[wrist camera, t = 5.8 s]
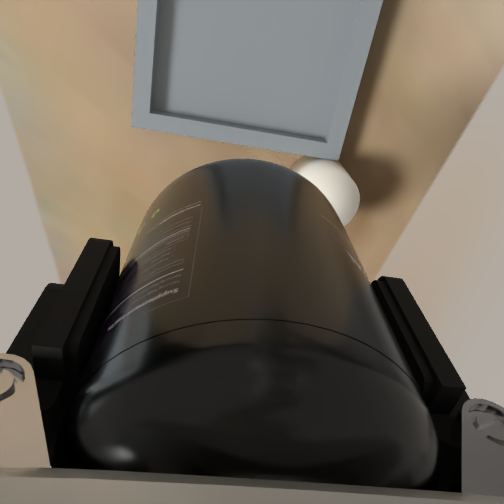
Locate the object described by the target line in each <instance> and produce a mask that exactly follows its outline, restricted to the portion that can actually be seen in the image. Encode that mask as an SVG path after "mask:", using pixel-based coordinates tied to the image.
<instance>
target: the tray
mask: <svg viewBox="0 0 504 504" xmlns="http://www.w3.org/2000/svg"><path fill="white" fill-rule="evenodd" d="M382 3H383V0H138V6H137V26H136V46H135V66H134V86H133V106H132V126H131V127H134V128H141V129H147V130H153V131H159V132H165V133H171V134H177V135H183V136H189V137H195V138H201V139H207V140H213V141H220V142H226V143H232V144H238V145H244V146H250V147H256V148H262V149H268V150H274V151H280V152H286V153H292V154H299V155H305V156H311V157H317V158H323V159H329V160H335V161H338V160H339V157H340V153H341V149H342V146H343V142H344V139H345V135H346V132H347V128H348V124H349V121H350V117H351V114H352V110H353V107H354V103H355V100H356V96H357V92H358V89H359V85H360V82H361V78H362V75H363V71H364V67H365V64H366V60H367V57H368V53H369V50H370V46H371V43H372V39H373V35H374V32H375V28H376V25H377V21H378V18H379V14H380V10H381V7H382Z"/></svg>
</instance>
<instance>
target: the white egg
mask: <svg viewBox="0 0 504 504" xmlns="http://www.w3.org/2000/svg"><path fill="white" fill-rule="evenodd" d="M290 170H293V171H295V172H296V173H298V174H300V175H302V176H303V177H305V178H306V179H307V180H309V181H310V182H311V183H313V184H314V185H315V186H316V187H317V188H318V189H319V190H320V191H321V192H322V193H323V194H324V195H325V196H326V198H327V199H328V200H329V202H330V203H331V204H332V206H333V208H334V209H335V211H336V213H337V214H338V216H339V218H340V220H341V222H342V224H343V226H345V225H346V224H347V223H348V222H350V221H351V219H352V218H353V217H354V216H355V214H356V212H357V210H358V207H359V203H360V194H359V190H358V187H357V185H356V184H355V182H354V181H353V180H352V178H351V177H350V176H349V174H348V173H347V172H346V170H345V169H344V168H343V166H342V165H341V164H340V162H339V161H335V160H329V159H323V158H317V157H311V156H305V155H304V156H302V157H300V158H299V159H298V160H297V161H296V162H295V163H294V164H293V165H292V167H291V168H290Z"/></svg>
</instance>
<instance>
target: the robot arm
mask: <svg viewBox="0 0 504 504" xmlns="http://www.w3.org/2000/svg"><path fill="white" fill-rule="evenodd" d="M119 274H120V247H115V246H113V241H111V240H104V239H96V238H90V239H89V240H88V242H87V244H86V246H85V247H84V249H83V251H82V253H81V255H80V257H79V259H78V260H77V262H76V264H75V266H74V268H73V270H72V271H71V273H70V275H69V277H68V279H67V281H66V283H65V284H56V283H50V284H48V285H47V286H46V287H45V289H44V291H43V292H42V294H41V296H40V297H39V299H38V301H37V302H36V304H35V306H34V307H33V309H32V311H31V312H30V314H29V316H28V317H27V319H26V321H25V322H24V324H23V326H22V327H21V329H20V331H19V332H18V334H17V336H16V337H15V339H14V341H13V343H12V344H11V346H10V348H9V349H8V351H7V352H6V354H3V353H2V354H0V504H504V408H503V407H501V406H499V405H497V404H496V403H493V402H491V401H488V400H484V399H476V398H474V399H470V398H469V396H468V395H467V393H466V391H465V389H466V387H465V385H464V383H463V382H462V380H461V378H460V377H459V375H458V373H457V372H456V370H455V368H454V366H453V364H452V363H451V361H450V359H449V358H448V356H447V354H446V353H445V351H444V349H443V347H442V346H441V344H440V343H439V341H438V339H437V337H436V335H435V334H434V332H433V330H432V329H431V327H430V325H429V324H428V322H427V320H426V319H425V317H424V315H423V313H422V311H421V310H420V308H419V306H418V305H417V303H416V301H415V300H414V298H413V296H412V295H411V293H410V291H409V289H408V288H407V286H406V284H405V282H404V281H403V280H402V279H400V278H393V277H385V276H381V277H380V278H379V279H378V281H377V280H374V281H373V282H372V283H371V286H372V288H373V290H374V292H375V294H376V296H377V298H378V301H379V303H380V305H381V307H382V309H383V311H384V313H385V316H386V318H387V320H388V322H389V324H390V326H391V328H392V330H393V333H394V335H395V337H396V339H397V341H398V343H399V345H400V348H401V350H402V352H403V354H404V356H405V358H406V360H407V363H408V365H409V367H410V369H411V371H412V373H413V375H414V378H415V380H416V382H417V384H418V386H419V388H420V391H421V393H422V395H423V397H424V400H425V402H426V404H427V406H428V410H429V412H430V414H431V417H432V419H433V422H434V424H435V427H436V430H437V434H438V438H439V443H440V449H441V477H440V487H439V491H429V490H415V489H400V488H386V487H371V486H357V485H342V484H326V483H311V482H296V481H280V480H264V479H248V478H232V477H215V476H198V475H181V474H164V473H147V472H129V471H111V470H88V469H64V468H50V466H51V464H52V456H53V450H54V445H55V442H56V439H57V435H58V432H59V430H60V427H61V424H62V420H63V418H64V415H65V412H66V409H67V406H68V404H69V401H70V399H71V396H72V394H73V391H74V389H75V386H76V384H77V381H78V379H79V376H80V374H81V371H82V369H83V366H84V364H85V361H86V359H87V356H88V354H89V351H90V349H91V346H92V344H93V341H94V339H95V336H96V334H97V331H98V329H99V326H100V324H101V321H102V319H103V316H104V314H105V311H106V309H107V306H108V304H109V301H110V299H111V296H112V294H113V291H114V289H115V287H116V284H117V282H118V279H119Z"/></svg>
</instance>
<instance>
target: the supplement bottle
mask: <svg viewBox="0 0 504 504" xmlns="http://www.w3.org/2000/svg"><path fill="white" fill-rule="evenodd" d="M51 468H64V469H88V470H111V471H129V472H147V473H164V474H181V475H198V476H215V477H232V478H248V479H264V480H280V481H296V482H311V483H326V484H342V485H357V486H371V487H386V488H400V489H415V490H429V491H439V487H440V477H441V449H440V443H439V438H438V434H437V430H436V427H435V424H434V422H433V419H432V417H431V414H430V412H429V410H428V406H427V404H426V402H425V400H424V397H423V395H422V393H421V391H420V388H419V386H418V384H417V382H416V380H415V378H414V375H413V373H412V371H411V369H410V367H409V365H408V363H407V360H406V358H405V356H404V354H403V352H402V350H401V348H400V345H399V343H398V341H397V339H396V337H395V335H394V333H393V330H392V328H391V326H390V324H389V322H388V320H387V318H386V316H385V313H384V311H383V309H382V307H381V305H380V303H379V301H378V298H377V296H376V294H375V292H374V290H373V288H372V286H371V284H370V281H369V279H368V277H367V275H366V273H365V271H364V269H363V266H362V264H361V262H360V260H359V258H358V256H357V254H356V252H355V249H354V247H353V245H352V243H351V241H350V239H349V237H348V234H347V232H346V230H345V228H344V226H343V224H342V222H341V220H340V218H339V216H338V214H337V213H336V211H335V209H334V208H333V206H332V204H331V203H330V202H329V200H328V199H327V198H326V196H325V195H324V194H323V193H322V192H321V191H320V190H319V189H318V188H317V187H316V186H315V185H314V184H313V183H311V182H310V181H309V180H307V179H306V178H305V177H303V176H302V175H300V174H298V173H296V172H295V171H293V170H290V169H288V168H286V167H283V166H281V165H278V164H274V163H271V162H267V161H262V160H255V159H229V160H222V161H216V162H213V163H209V164H206V165H203V166H200V167H198V168H195V169H193V170H191V171H189V172H187V173H185V174H184V175H182V176H180V177H179V178H177V179H176V180H175V181H173V182H172V183H171V184H170V185H168V186H167V187H166V188H165V189H164V190H163V191H162V192H161V193H160V194H159V195H158V197H157V198H156V199H155V200H154V202H153V203H152V205H151V206H150V208H149V210H148V211H147V213H146V215H145V217H144V219H143V221H142V223H141V225H140V228H139V230H138V232H137V234H136V237H135V239H134V242H133V244H132V247H131V249H130V252H129V254H128V257H127V259H126V262H125V264H124V267H123V269H122V272H121V274H120V277H119V279H118V282H117V284H116V287H115V289H114V291H113V294H112V296H111V299H110V301H109V304H108V306H107V309H106V311H105V314H104V316H103V319H102V321H101V324H100V326H99V329H98V331H97V334H96V336H95V339H94V341H93V344H92V346H91V349H90V351H89V354H88V356H87V359H86V361H85V364H84V366H83V369H82V371H81V374H80V376H79V379H78V381H77V384H76V386H75V389H74V391H73V394H72V396H71V399H70V401H69V404H68V406H67V409H66V412H65V415H64V418H63V420H62V424H61V427H60V430H59V432H58V435H57V439H56V442H55V445H54V450H53V456H52V464H51Z"/></svg>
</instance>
